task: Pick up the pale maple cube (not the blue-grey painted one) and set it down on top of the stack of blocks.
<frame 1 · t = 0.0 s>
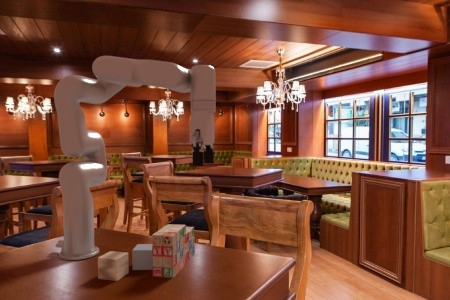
hand: (203, 164, 104), 31 cm above the table, tool pointing down, fingers open, 9 cm apart
stack of blocks: (175, 265, 108), on the table
bluegrey block: (145, 266, 106), on the table
maple cube: (113, 275, 99), on the table
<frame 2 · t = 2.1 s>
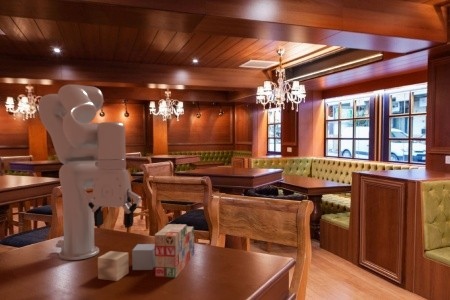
hand: (113, 226, 98), 14 cm above the table, tool pointing down, fingers open, 9 cm apart
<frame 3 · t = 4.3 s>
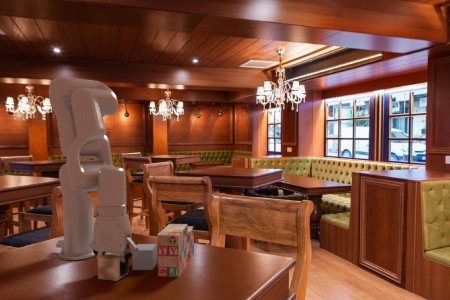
hand: (113, 272, 99), 1 cm above the table, tool pointing down, fingers closed on maple cube, 6 cm apart
maple cube: (113, 275, 99), on the table, touching gripper
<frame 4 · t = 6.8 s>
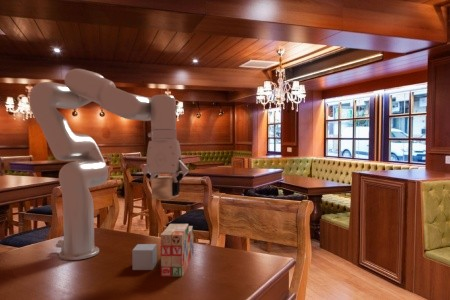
hand: (165, 194, 105), 22 cm above the table, tool pointing down, fingers closed on maple cube, 6 cm apart
maple cube: (165, 197, 105), point 21 cm above the table, touching gripper
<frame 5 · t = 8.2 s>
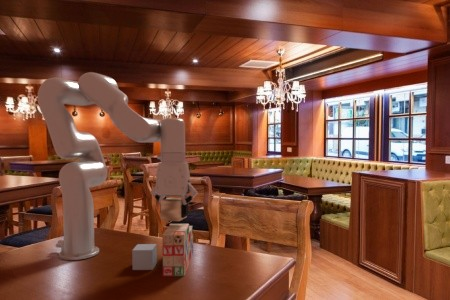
hand: (174, 215, 107), 15 cm above the table, tool pointing down, fingers closed on maple cube, 6 cm apart
maple cube: (174, 218, 107), point 14 cm above the table, touching gripper
when the fingers open (14 cm above the table, at t = 9.3 s): maple cube drops 1 cm, resting on stack of blocks.
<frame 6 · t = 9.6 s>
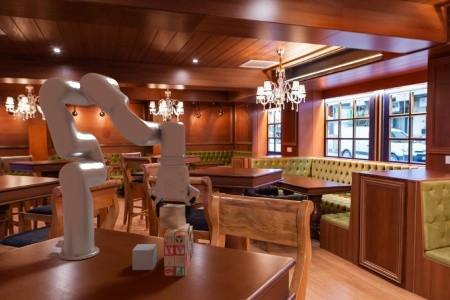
hand: (173, 216, 107), 15 cm above the table, tool pointing down, fingers open, 9 cm apart
stack of blocks: (180, 264, 109), on the table, touching maple cube
maple cube: (173, 225, 107), point 12 cm above the table, touching stack of blocks
everything else where it was.
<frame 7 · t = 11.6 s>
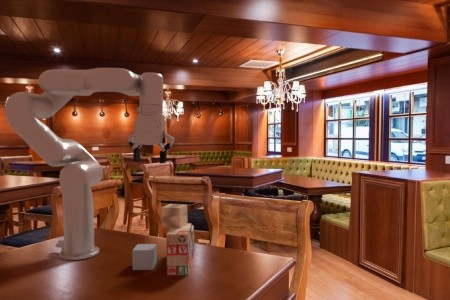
hand: (149, 162, 115), 31 cm above the table, tool pointing down, fingers open, 9 cm apart
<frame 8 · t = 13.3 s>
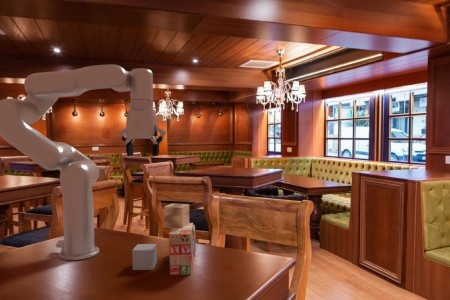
hand: (142, 155, 118), 33 cm above the table, tool pointing down, fingers open, 9 cm apart
at the end: maple cube inside the target area (1.4 cm from its centre), point 12.1 cm above the table; maple cube tilted 0°; the gripper is holding nothing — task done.
